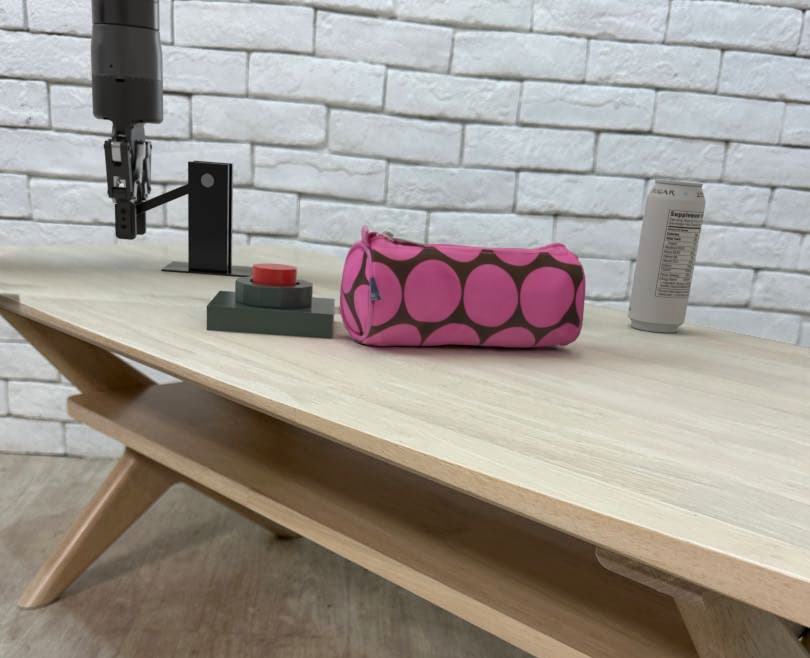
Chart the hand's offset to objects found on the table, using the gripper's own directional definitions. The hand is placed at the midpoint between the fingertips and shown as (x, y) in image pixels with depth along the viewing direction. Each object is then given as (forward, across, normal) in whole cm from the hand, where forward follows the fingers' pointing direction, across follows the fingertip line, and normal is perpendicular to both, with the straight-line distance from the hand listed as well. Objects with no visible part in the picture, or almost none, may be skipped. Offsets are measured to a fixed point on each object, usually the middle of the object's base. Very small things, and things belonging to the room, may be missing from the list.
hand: (131, 235), depth 115 cm
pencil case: (+4, +32, +36) cm, 48 cm away
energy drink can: (+4, +14, +58) cm, 60 cm away
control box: (+4, +28, +18) cm, 34 cm away
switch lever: (-4, 0, +5) cm, 6 cm away
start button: (+1, +28, +19) cm, 33 cm away
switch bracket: (+4, 0, +9) cm, 10 cm away
